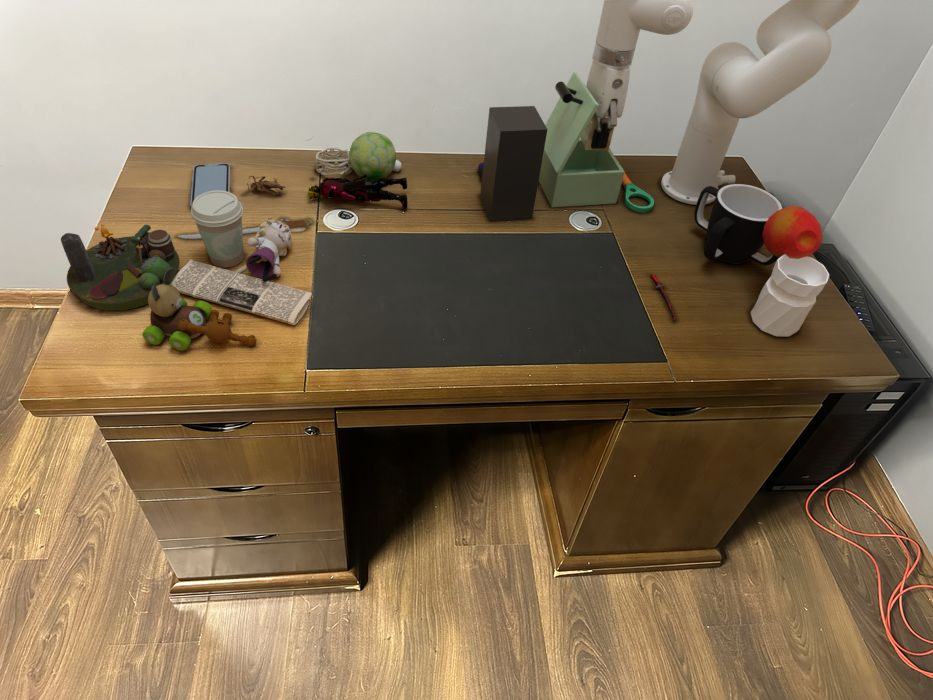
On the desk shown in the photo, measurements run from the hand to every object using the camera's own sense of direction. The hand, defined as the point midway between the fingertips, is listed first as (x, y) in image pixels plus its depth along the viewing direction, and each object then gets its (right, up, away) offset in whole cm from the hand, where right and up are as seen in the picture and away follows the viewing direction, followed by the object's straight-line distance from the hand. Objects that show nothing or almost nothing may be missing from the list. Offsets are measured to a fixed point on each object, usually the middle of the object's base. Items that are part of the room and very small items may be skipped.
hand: (593, 139), depth 143 cm
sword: (-68, -23, -13) cm, 73 cm away
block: (0, -1, +1) cm, 1 cm away
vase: (+30, -38, -18) cm, 52 cm away
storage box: (-3, -8, +8) cm, 12 cm away
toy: (-64, -32, -25) cm, 76 cm away
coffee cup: (-70, -27, -17) cm, 77 cm away
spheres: (-45, 0, +10) cm, 46 cm away
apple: (+31, -25, -28) cm, 49 cm away
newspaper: (-65, -33, -25) cm, 77 cm away
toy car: (-73, -40, -30) cm, 89 cm away
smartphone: (-79, -11, -2) cm, 79 cm away
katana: (+12, -35, -16) cm, 40 cm away
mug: (+26, -24, -4) cm, 36 cm away
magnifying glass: (+10, -9, +8) cm, 16 cm away
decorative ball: (-47, -3, -4) cm, 47 cm away
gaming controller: (-19, -6, +8) cm, 22 cm away
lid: (-6, +2, -4) cm, 7 cm away
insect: (-68, -10, -6) cm, 69 cm away
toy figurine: (-67, -38, -29) cm, 82 cm away
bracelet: (-59, -4, +3) cm, 59 cm away
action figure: (-49, -13, -1) cm, 50 cm away
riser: (-18, -14, +1) cm, 23 cm away
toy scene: (-86, -31, -23) cm, 94 cm away
